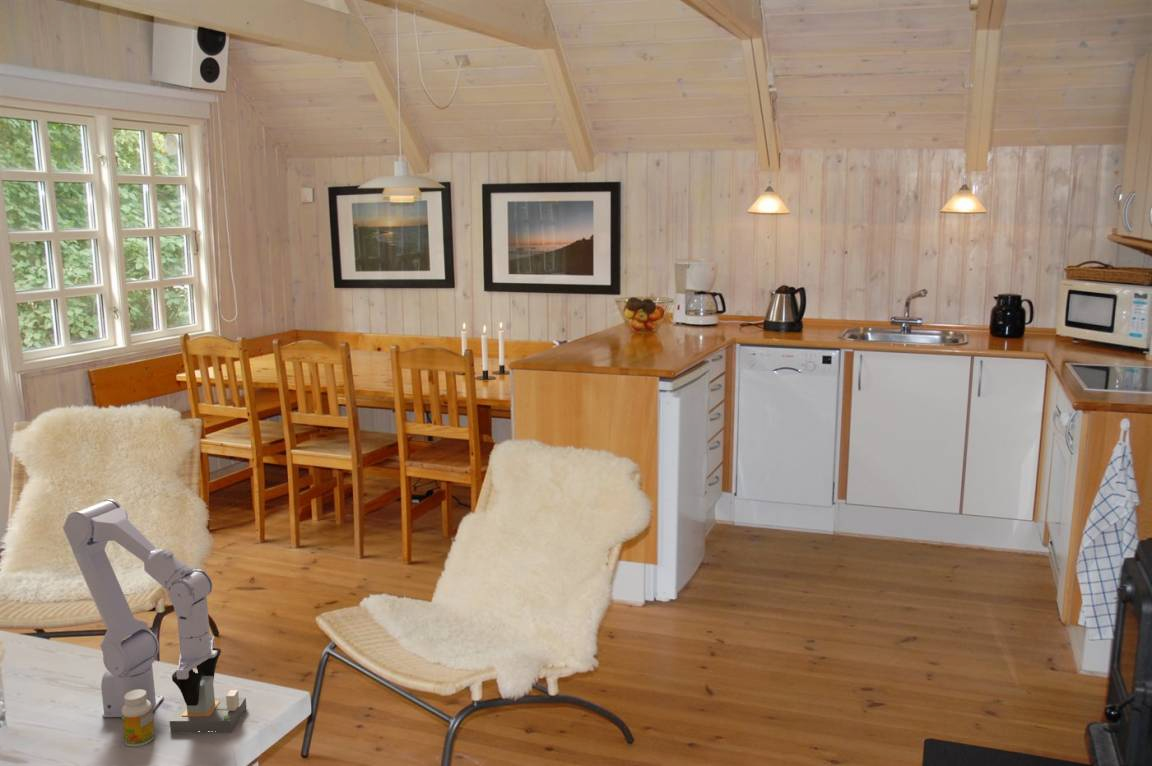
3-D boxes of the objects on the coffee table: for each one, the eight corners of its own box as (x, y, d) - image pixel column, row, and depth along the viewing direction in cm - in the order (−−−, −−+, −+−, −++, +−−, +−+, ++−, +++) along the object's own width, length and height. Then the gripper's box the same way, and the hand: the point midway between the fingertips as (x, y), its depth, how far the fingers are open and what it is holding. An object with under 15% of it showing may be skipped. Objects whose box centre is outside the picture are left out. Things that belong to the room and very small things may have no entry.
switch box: (170, 732, 190) (169, 719, 189) (188, 708, 199) (187, 696, 198) (230, 732, 190) (229, 719, 189) (246, 708, 199) (245, 696, 198)
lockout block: (187, 713, 192) (184, 685, 191) (195, 703, 196) (193, 675, 195) (207, 713, 192) (204, 685, 191) (215, 703, 196) (212, 675, 194)
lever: (227, 710, 192) (225, 696, 192) (231, 704, 195) (230, 690, 194) (235, 710, 192) (233, 696, 192) (239, 704, 195) (238, 690, 194)
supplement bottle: (118, 743, 186) (113, 697, 184) (142, 729, 191) (137, 684, 189) (137, 750, 184) (132, 703, 182) (160, 736, 188) (156, 691, 187)
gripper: (200, 648, 183) (205, 713, 186) (227, 616, 198) (232, 677, 200) (163, 649, 183) (169, 713, 186) (193, 616, 198) (198, 677, 200)
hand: (199, 694), depth 193 cm, fingers open, 7 cm apart
